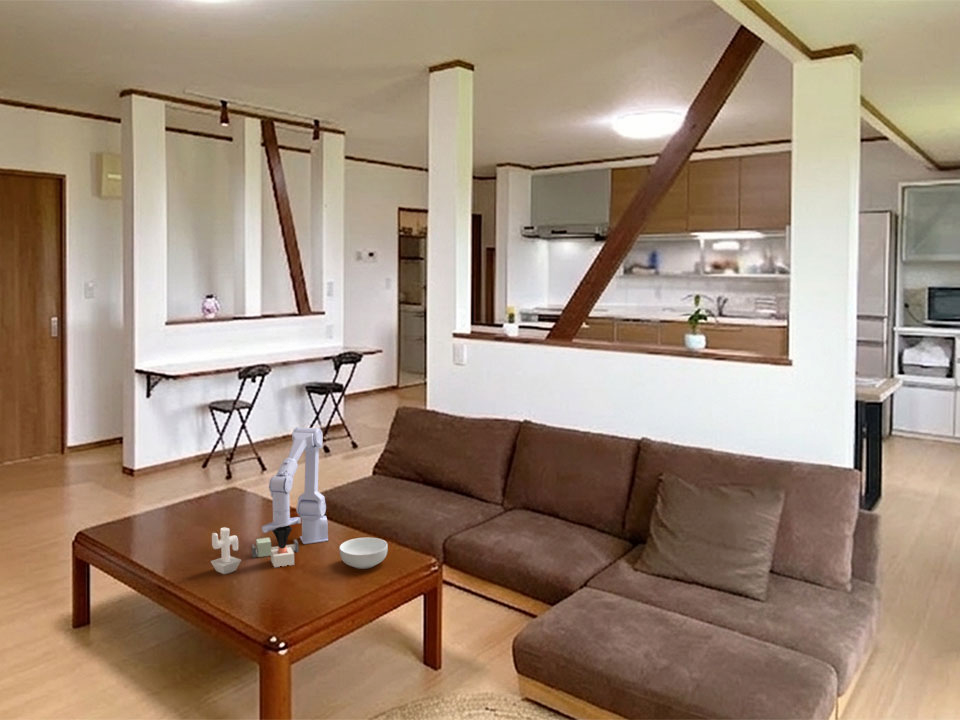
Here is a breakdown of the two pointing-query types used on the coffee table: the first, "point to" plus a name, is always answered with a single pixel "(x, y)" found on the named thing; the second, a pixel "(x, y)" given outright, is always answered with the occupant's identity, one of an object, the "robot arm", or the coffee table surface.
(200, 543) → the coffee table surface
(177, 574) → the coffee table surface
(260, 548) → the block
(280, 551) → the plunger
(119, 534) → the coffee table surface
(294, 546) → the slide rail
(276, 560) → the box
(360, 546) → the cereal bowl
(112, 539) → the coffee table surface
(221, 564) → the figurine
